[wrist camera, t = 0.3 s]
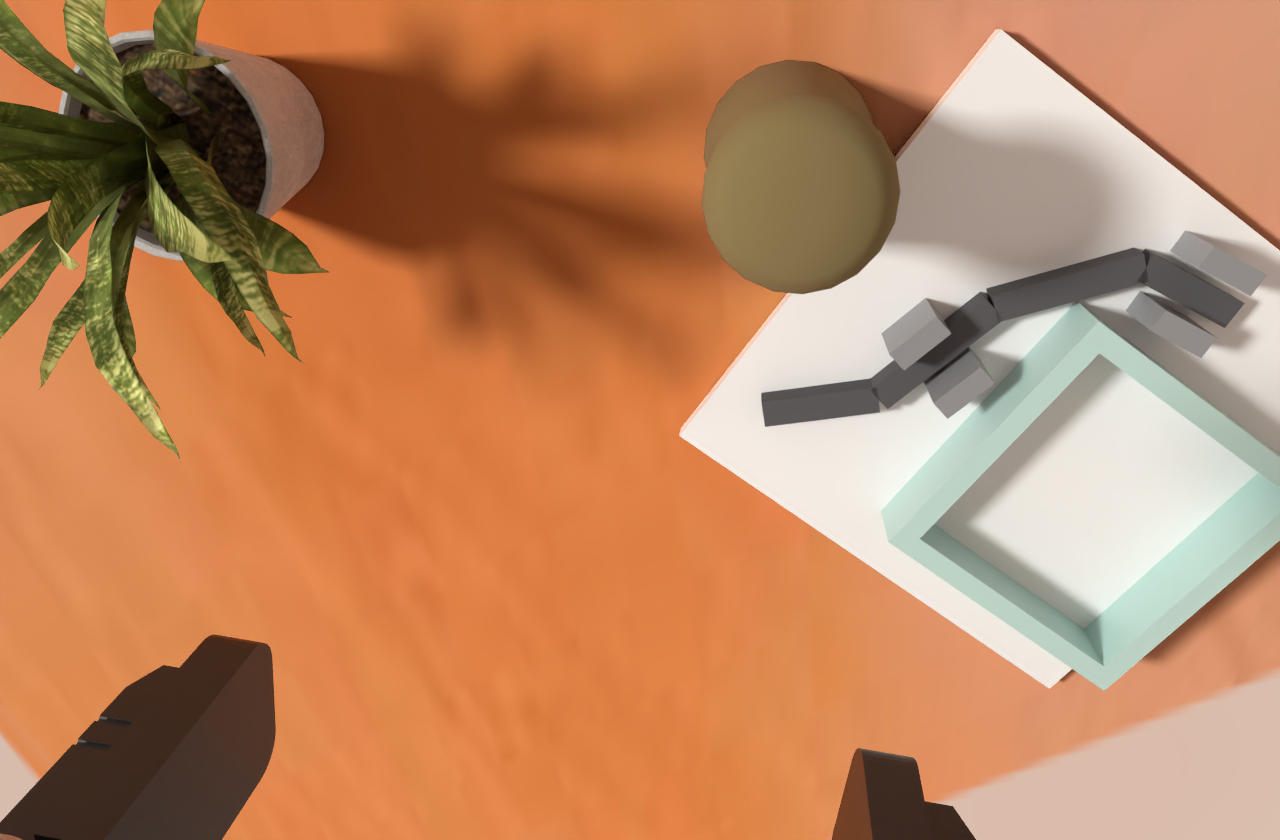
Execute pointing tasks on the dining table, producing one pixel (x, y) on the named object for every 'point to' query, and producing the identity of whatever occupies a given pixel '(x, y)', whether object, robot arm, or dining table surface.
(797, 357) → the board
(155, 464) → the dining table surface
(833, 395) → the routed cable
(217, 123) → the house plant
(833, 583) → the dining table surface
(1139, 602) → the mint green square frame
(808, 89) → the cork
